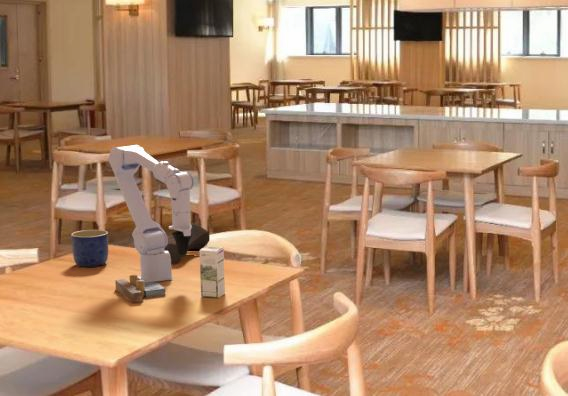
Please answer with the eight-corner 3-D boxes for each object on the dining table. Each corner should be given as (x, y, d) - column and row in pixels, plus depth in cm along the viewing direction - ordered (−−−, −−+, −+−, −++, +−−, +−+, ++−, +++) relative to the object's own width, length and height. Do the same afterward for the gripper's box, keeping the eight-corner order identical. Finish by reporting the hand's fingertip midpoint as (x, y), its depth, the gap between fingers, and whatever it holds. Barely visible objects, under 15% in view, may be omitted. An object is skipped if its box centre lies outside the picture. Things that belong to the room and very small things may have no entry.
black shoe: (192, 252, 370) (168, 279, 344) (177, 228, 369) (152, 253, 343) (216, 239, 367) (194, 265, 341) (201, 214, 365) (178, 239, 339)
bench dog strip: (132, 287, 312) (132, 271, 311) (150, 300, 296) (149, 284, 295) (115, 289, 309) (115, 273, 309) (132, 303, 293) (131, 286, 293)
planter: (65, 264, 345) (64, 233, 343) (96, 258, 353) (95, 228, 351) (85, 270, 336) (83, 238, 334) (116, 264, 344) (115, 232, 342)
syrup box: (225, 293, 302) (224, 246, 300) (218, 298, 297) (216, 250, 295) (208, 292, 304) (206, 245, 302) (200, 297, 299) (198, 249, 296)
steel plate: (155, 289, 311) (155, 281, 310) (165, 296, 302) (165, 288, 301) (136, 291, 308) (136, 283, 308) (146, 299, 299) (145, 291, 299)
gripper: (163, 208, 314) (164, 251, 316) (173, 216, 300) (175, 260, 303) (185, 207, 316) (186, 249, 318) (196, 214, 303) (198, 258, 305)
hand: (182, 254), depth 311 cm, fingers closed
